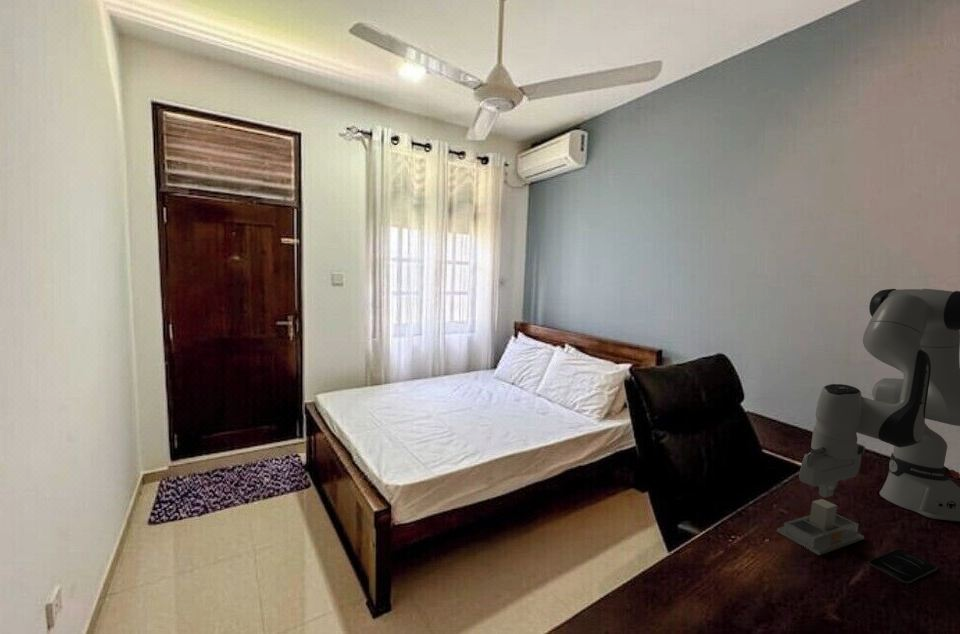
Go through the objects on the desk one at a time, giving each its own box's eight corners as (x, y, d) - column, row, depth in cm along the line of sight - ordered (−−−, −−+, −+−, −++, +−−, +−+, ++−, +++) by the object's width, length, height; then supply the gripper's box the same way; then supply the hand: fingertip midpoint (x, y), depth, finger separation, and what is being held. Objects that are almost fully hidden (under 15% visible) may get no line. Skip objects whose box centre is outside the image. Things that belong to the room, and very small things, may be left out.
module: (818, 526, 112) (822, 498, 112) (833, 533, 109) (837, 505, 108) (808, 529, 111) (812, 501, 110) (823, 537, 107) (827, 508, 107)
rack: (820, 518, 118) (822, 506, 118) (863, 539, 109) (865, 527, 109) (776, 531, 111) (778, 519, 110) (819, 555, 102) (821, 542, 101)
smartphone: (866, 561, 100) (898, 547, 106) (866, 564, 100) (898, 551, 106) (907, 583, 93) (939, 567, 99) (907, 586, 93) (939, 570, 99)
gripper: (823, 455, 101) (815, 508, 102) (869, 446, 108) (861, 495, 110) (795, 445, 106) (788, 495, 108) (840, 437, 114) (833, 484, 116)
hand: (825, 495), depth 109 cm, fingers closed
